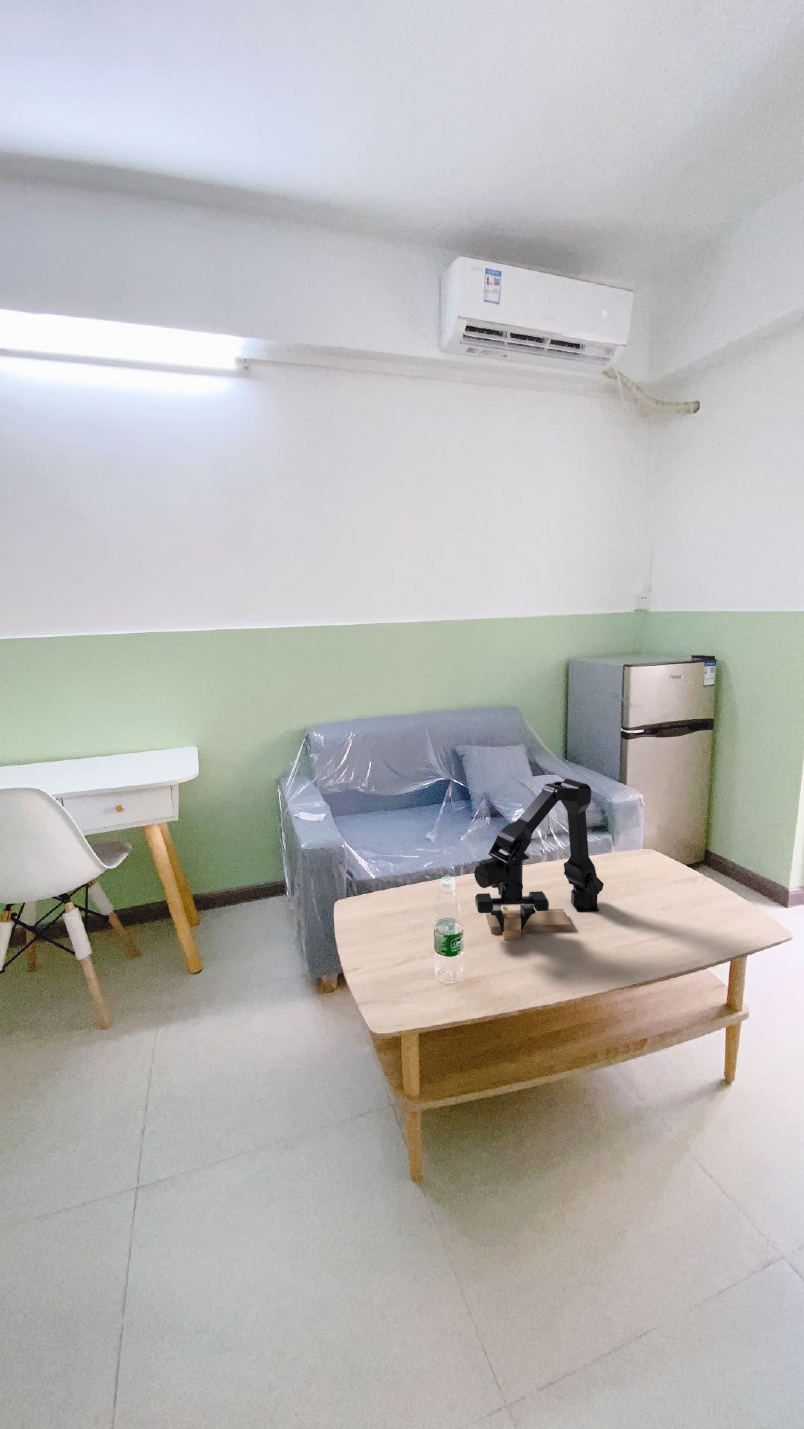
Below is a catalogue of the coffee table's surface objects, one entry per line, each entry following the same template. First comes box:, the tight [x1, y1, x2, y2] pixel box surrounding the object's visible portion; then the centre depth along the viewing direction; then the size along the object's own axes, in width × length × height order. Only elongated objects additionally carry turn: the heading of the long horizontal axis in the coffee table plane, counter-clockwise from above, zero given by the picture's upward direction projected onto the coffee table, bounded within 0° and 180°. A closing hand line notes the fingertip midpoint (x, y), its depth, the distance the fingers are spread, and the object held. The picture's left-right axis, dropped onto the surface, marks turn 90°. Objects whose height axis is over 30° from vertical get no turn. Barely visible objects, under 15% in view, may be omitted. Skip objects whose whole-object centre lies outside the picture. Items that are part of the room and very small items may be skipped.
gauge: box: [501, 906, 522, 941], centre depth 149 cm, size 4×11×6 cm, turn 1°
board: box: [485, 908, 573, 935], centre depth 152 cm, size 22×8×2 cm, turn 91°
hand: (511, 931), depth 146 cm, fingers closed on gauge, 4 cm apart
